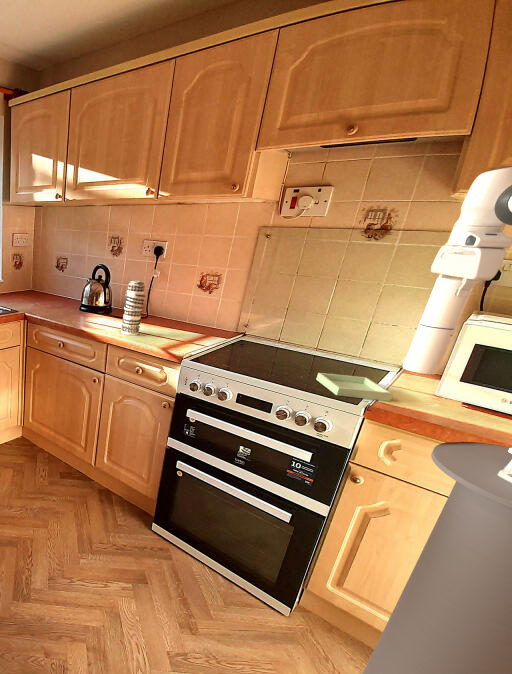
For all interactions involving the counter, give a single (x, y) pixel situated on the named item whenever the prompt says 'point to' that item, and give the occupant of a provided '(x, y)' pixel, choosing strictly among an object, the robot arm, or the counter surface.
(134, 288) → the leaning tower model
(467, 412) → the counter surface
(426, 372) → the cylindrical container
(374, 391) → the tray
